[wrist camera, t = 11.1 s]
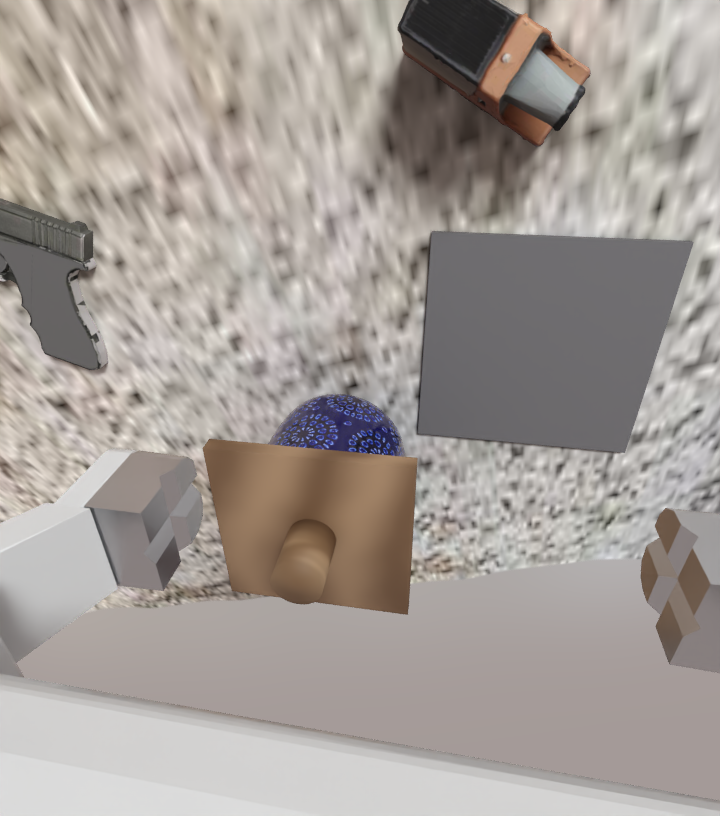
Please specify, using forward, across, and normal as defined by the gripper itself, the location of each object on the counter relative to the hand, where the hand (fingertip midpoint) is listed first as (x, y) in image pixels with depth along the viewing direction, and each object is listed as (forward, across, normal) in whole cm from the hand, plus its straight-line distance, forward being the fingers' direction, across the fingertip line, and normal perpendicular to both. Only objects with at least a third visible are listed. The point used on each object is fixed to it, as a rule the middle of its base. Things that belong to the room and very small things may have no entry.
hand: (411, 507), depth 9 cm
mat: (+29, -7, +10) cm, 32 cm away
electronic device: (+29, -2, -7) cm, 30 cm away
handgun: (+30, +35, +6) cm, 46 cm away
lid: (+18, +7, +19) cm, 27 cm away
